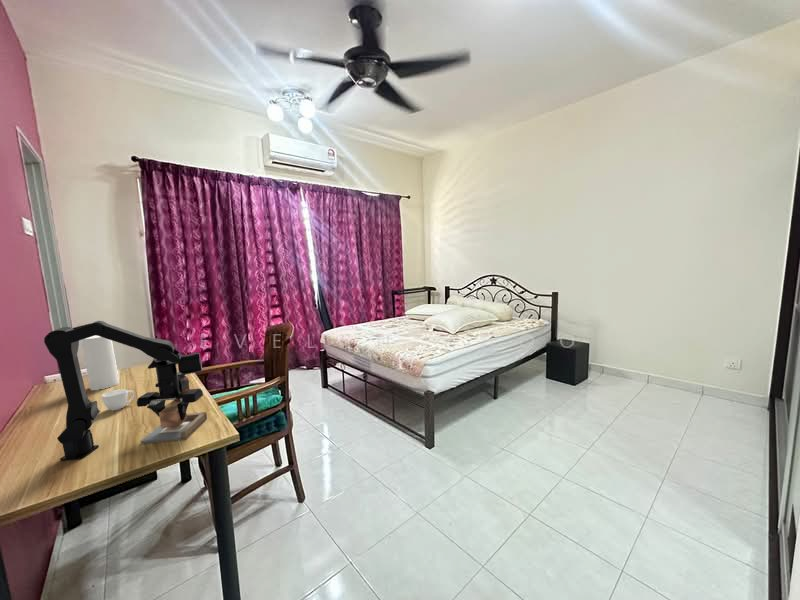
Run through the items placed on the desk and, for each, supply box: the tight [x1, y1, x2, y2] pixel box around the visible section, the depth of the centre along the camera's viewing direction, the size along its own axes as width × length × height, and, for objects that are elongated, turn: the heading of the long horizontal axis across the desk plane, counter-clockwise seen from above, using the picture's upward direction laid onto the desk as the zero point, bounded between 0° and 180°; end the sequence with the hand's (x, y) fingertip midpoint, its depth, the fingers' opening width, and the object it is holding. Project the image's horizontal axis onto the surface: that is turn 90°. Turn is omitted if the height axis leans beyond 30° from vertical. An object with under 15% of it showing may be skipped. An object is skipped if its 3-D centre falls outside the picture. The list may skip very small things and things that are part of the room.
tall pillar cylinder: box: [80, 335, 120, 391], centre depth 159 cm, size 11×11×25 cm
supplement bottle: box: [174, 371, 190, 402], centre depth 140 cm, size 6×6×11 cm
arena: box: [140, 411, 208, 444], centre depth 114 cm, size 14×14×2 cm
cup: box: [101, 388, 136, 412], centre depth 134 cm, size 8×10×7 cm
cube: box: [158, 404, 188, 428], centre depth 114 cm, size 6×6×6 cm
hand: (174, 420), depth 114 cm, fingers closed on cube, 5 cm apart
